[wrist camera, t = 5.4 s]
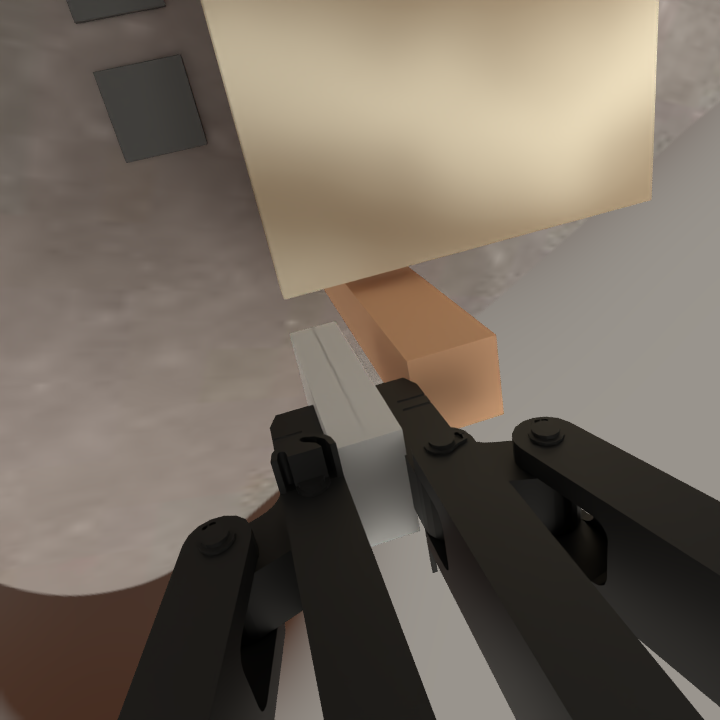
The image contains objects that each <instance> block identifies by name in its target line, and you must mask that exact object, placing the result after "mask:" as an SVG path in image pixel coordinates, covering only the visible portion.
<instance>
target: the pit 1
mask: <svg viewBox="0 0 720 720" xmlns="http://www.w3.org/2000/svg"><path fill="white" fill-rule="evenodd" d="M67 3H68V6H69V9H70V11H71V14H72V17H73V19H74V22H75V23H76V24H77V23H82V22H88V21H93V20H98V19H103V18H108V17H113V16H118V15H124V14H129V13H134V12H139V11H144V10H149V9H154V8H160V7H165V6H166V5H165V2H164V0H67Z"/></svg>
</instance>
